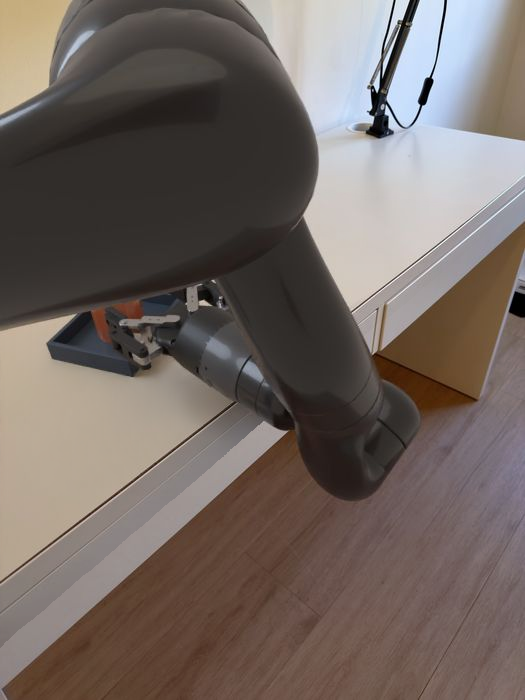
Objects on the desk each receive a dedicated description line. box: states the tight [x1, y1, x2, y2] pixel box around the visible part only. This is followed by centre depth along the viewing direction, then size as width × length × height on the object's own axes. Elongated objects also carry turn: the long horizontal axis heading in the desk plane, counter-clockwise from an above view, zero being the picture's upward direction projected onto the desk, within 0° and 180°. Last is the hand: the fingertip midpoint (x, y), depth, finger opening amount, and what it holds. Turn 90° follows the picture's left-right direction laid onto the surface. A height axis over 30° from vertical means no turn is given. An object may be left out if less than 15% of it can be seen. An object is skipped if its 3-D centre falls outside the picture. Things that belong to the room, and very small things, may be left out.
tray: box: [45, 293, 187, 377], centre depth 72 cm, size 15×12×3 cm
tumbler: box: [91, 300, 145, 344], centre depth 69 cm, size 7×7×9 cm
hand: (139, 298), depth 63 cm, fingers open, 8 cm apart
